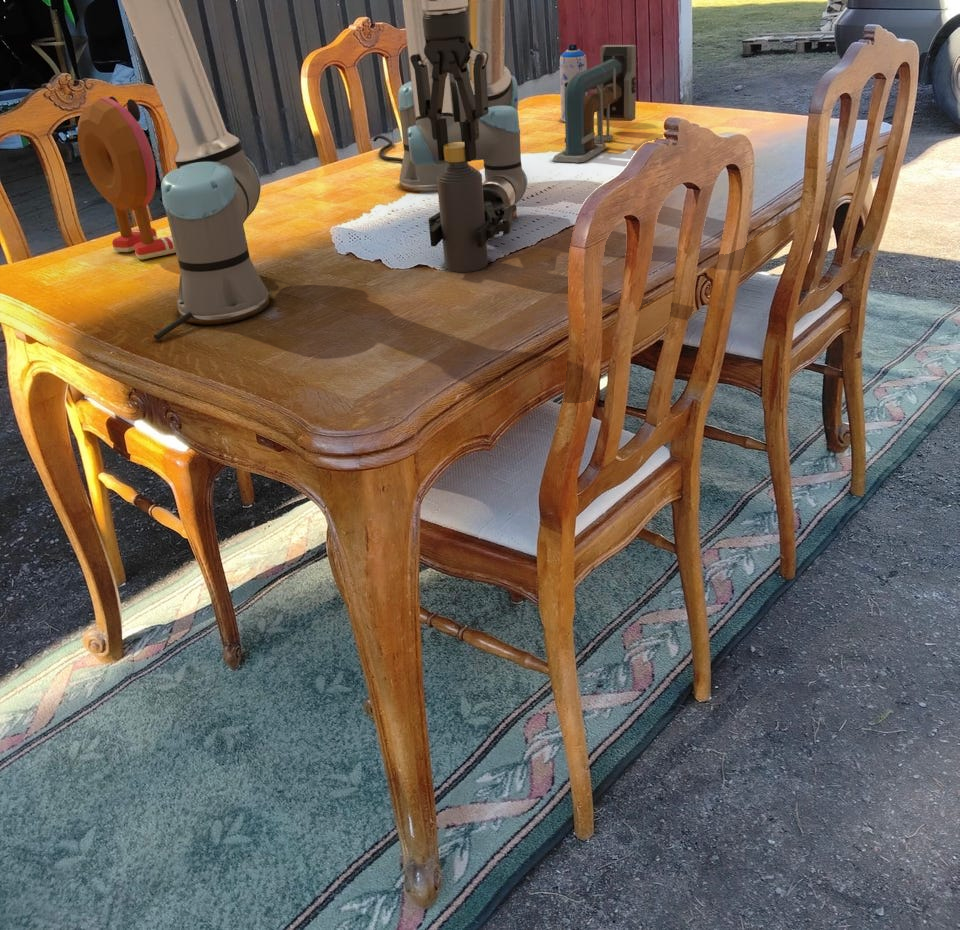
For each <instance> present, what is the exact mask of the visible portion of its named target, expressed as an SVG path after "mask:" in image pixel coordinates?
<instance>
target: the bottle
mask: <svg viewBox="0 0 960 930" xmlns="http://www.w3.org/2000/svg"><path fill="white" fill-rule="evenodd" d="M448 165H449V166H447V167H446V168H445V169H444V171H442V172H441V173H440V174H439V175H438V177H437V187H438V191H437V196H438V197H437V198H438V208H439V212H440V218H441V229H442V248H443V249H442V251H443V256H444V257H443V259H444V267H445V269H446V270H448V271H450V272H455V273H470V272H476V271H479V270H482V269H484V268H486V267H487V266H488V265H489V256H488V243H487V242H488V241H487V242H486V243H485V244H484V245H483V247H478V245H477V231H478V230H479V229H480V228H481V227H482V226H483V225H484V224H485V213H484V199H483V185H482V183H483V174H482V172H481V171H480V170H478V169H476V168H475V167H473V166H472V165H471V164H469V162H466V161H462V162H448Z"/></svg>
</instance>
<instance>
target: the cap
mask: <svg viewBox="0 0 960 930" xmlns="http://www.w3.org/2000/svg"><path fill="white" fill-rule="evenodd" d="M443 151H444V160H445V161H447V162H462V161H466V156H465V144H464V142H453V143H448V144H445V145H444V146H443Z"/></svg>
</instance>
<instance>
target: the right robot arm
mask: <svg viewBox="0 0 960 930" xmlns="http://www.w3.org/2000/svg"><path fill="white" fill-rule="evenodd" d="M401 1H402V9H403V10H402V11H403V19H404V20H403V21H404V28H405V29H404V30H405V37H406V46H407V54H408V64H409V74H410V81H408V82H406V83H404V84H402V86H400V87H399V89H398V93H397V97H398V107H397V108H398V111H399V115H400V125H401V135H402V145H403V158H402V157H394V156H387V155H383V153H384V151H386V150H387V149H389V148H391V147H392V146H393V144H394V143H393V141H392V139H390V138H388V137H386V136H385V135H381V134H378V135H375V136H374V137H373V140H372V141H373V142H377V141H378V140H379V139H380V140H384V141H385V142H386V143H388V144H386V145H384V146H382V147H381V148H380V150H379V152H378V156H379V158H380V159H382V160H385V161H389V162H390V161H391V162H400V163H401V168H400V173H399V180H398V181H399V187H400V189H402V190H405V191H407V192H413V193H430V192H431V193H432V192H438V187H437V177H438V175H439V174H440V173H441V172H442V171H444V169H445V168H446V167H447V166H449V165H448V162H447V161H445V160H443V161H439V158H438V147H437V140H434V139H433V137H432V128H431V121H430V119H429V118H427V117H422V116H420V113H419V105H418V96H417V87H416V78H415V70H414V67H413V65H412V63H411V60H410V57H411V56H412V55H414V54H417V53H420V52H422V51H424V47H425V43H426V40H425V37H424V30H423V19H422V17H423V15H424V14H426V11H423V10H422V7H421V0H401ZM465 11H467V13H469V24H470V42H471V44H472V46H473V49H474V50H477V51H479V52H482V53H483V52H487V53H488V55H489V57H488V61H487V65H486V75H487V93H488V110H489V112H488V114H487V115H485V116H483V117H480V118H479V120H478V123H479V139H477V140H475V143H476V157H477V158H476V159H474V160H472V161H473V162H474V161H483V168H484V181H482V185H483V199H484V213H485V224H484V225H483V226H482V227H481V228H480V229H479V230H478V231H477V245H478V247H483V245H484V244H485V243H486V242H488V241H489V240H490V239H493V238H495V236H498V235H500V233H502V234H503V235H508V234H511V230H512V227H513V223H514V222H515V221H516V220H518V208H517V204H518V203H519V202H520V201H521V200H522V199H523V197H524V195H525V192H526V191H527V188H528V176H527V174H526V172H525V171H524V169H523V165H522V153H521V152H522V151H521V130H520V129H521V128H520V121H519V119H520V118H519V112H518V109H519V101H518V100H519V87H518V81H517V78H516V77H515V76H514V75H512V74H511V72H510V69H509V68H508V67H507V66H506V65H505V58H506V57H505V56H506V55H505V52H506V51H505V50H506V49H505V48H506V40H505V39H506V36H505V35H506V0H468V6H467V7H466V8H465ZM427 60H428V58H427ZM427 67H428V75H429V85H430V95H431V93H432V83H433V78H432V70H433V66H432V64H431V63H430V61H429V60H428V62H427ZM467 67H468V70H469V79H470V83H471V87H472V90H473V94H474V98H475V91H474V75H473V68H474V65H473V64H472V58H471V57H470V59H469V61H468V63H467ZM442 114H444V115H443V116H442V117H441V119H442V118H446V122H447V133H448V143H453V142H464V132H463V122H464V121H465V119H467V118H466V114H465V111H464V107H463V104H462V100H461V96H460V93H459V89H458V86H457V82H456V80H453V81H451V77H450V73H448V74H447V77H446V81H445V90H444V99H443V108H442ZM472 161H471V162H472ZM427 221H428V228H429V238H430V247H437V246H438V245H439V243H440V242H441V241H443V239H442V229H441V218H440V211H439V212H437V213H436V214H434V215H432V216H429V218H428V220H427Z"/></svg>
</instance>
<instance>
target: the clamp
mask: <svg viewBox="0 0 960 930" xmlns="http://www.w3.org/2000/svg"><path fill="white" fill-rule="evenodd" d="M636 70H637V45H636V44H604V45H601V46H600V63H599V64H597V65H595V66H592V67H590V68H587V70H586V71H583V72H581V73H579V74H577V75H575V76H574V77H573V78H572V79H571V80H570V82H569V83H568V84H567V86H566V90H565V122H564V126H565V127H564V129H565V138H564V143H565V149H564V150H561V151H560V152H559V153H557V154H555V155H554V156H553V158H552V161H553V162H559V163H562V162H563V163H578V164H579V163H585V162H587V161H589V160H590V159H591V158H593V157H595V156H596V155H598V154H599V153H602V152H603V151H605V150H607V149H608V147H607V145H606V143H605V142H611V141H612V140H614V136H613V135H612V134H610V122H613V121H614V122H633V121H635V120H636V103H637V102H636V98H637V97H636V92H637V91H636V89H637V87H636V84H637V82H636V81H637V71H636ZM591 90H595V91H592V92H590V93H589V94H587V96H585V92H587V93H588V92H589V91H591ZM595 113H596V130H597V132H596V133H597V134H596V133H595ZM604 121H606V134H604Z"/></svg>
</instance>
